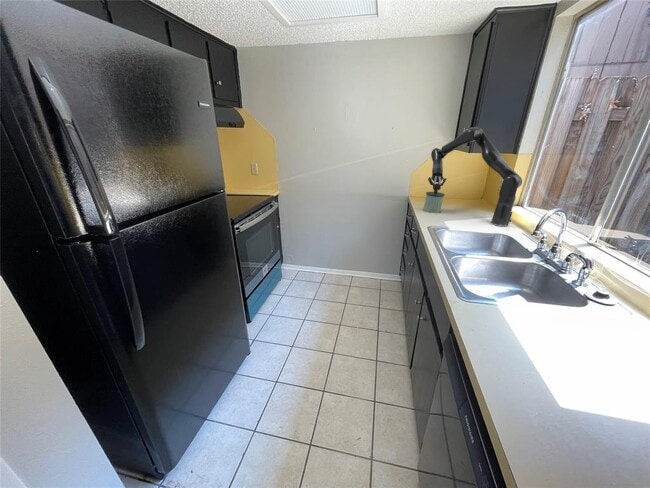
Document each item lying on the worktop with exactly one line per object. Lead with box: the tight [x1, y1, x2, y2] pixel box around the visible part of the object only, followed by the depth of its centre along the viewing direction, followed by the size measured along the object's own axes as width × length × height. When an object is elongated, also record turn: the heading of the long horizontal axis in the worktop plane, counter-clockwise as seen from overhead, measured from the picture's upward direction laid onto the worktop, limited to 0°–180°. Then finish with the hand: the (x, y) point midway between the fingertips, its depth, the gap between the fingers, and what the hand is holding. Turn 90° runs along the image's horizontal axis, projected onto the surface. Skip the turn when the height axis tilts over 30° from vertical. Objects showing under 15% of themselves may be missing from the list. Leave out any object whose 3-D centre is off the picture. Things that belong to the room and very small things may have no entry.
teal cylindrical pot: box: [423, 193, 445, 214], centre depth 201 cm, size 12×12×12 cm
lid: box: [425, 183, 446, 197], centre depth 197 cm, size 13×13×9 cm
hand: (436, 189), depth 195 cm, fingers closed on lid, 2 cm apart
